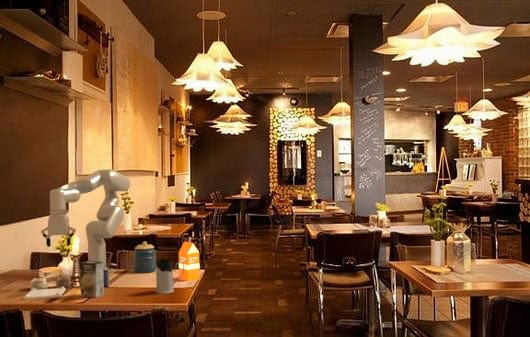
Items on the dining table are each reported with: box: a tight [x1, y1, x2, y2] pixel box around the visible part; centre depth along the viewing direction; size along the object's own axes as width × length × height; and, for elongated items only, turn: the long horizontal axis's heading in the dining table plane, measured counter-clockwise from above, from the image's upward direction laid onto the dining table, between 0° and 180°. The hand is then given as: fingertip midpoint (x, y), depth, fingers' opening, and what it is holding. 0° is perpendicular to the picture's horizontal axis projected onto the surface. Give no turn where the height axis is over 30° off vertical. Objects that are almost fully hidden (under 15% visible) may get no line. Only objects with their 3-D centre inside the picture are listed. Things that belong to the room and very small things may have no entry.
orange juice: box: [178, 241, 201, 282], centre depth 288 cm, size 8×9×20 cm
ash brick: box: [30, 277, 47, 291], centre depth 271 cm, size 6×8×5 cm
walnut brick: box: [56, 275, 71, 290], centre depth 274 cm, size 6×8×5 cm
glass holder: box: [155, 258, 184, 295], centre depth 260 cm, size 9×14×15 cm, turn 113°
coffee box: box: [79, 260, 105, 298], centre depth 253 cm, size 9×6×16 cm
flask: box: [103, 268, 111, 288], centre depth 274 cm, size 9×3×11 cm, turn 68°
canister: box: [133, 241, 157, 274], centre depth 314 cm, size 13×13×18 cm
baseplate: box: [22, 287, 66, 300], centre depth 258 cm, size 16×16×2 cm
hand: (58, 246), depth 275 cm, fingers open, 9 cm apart
